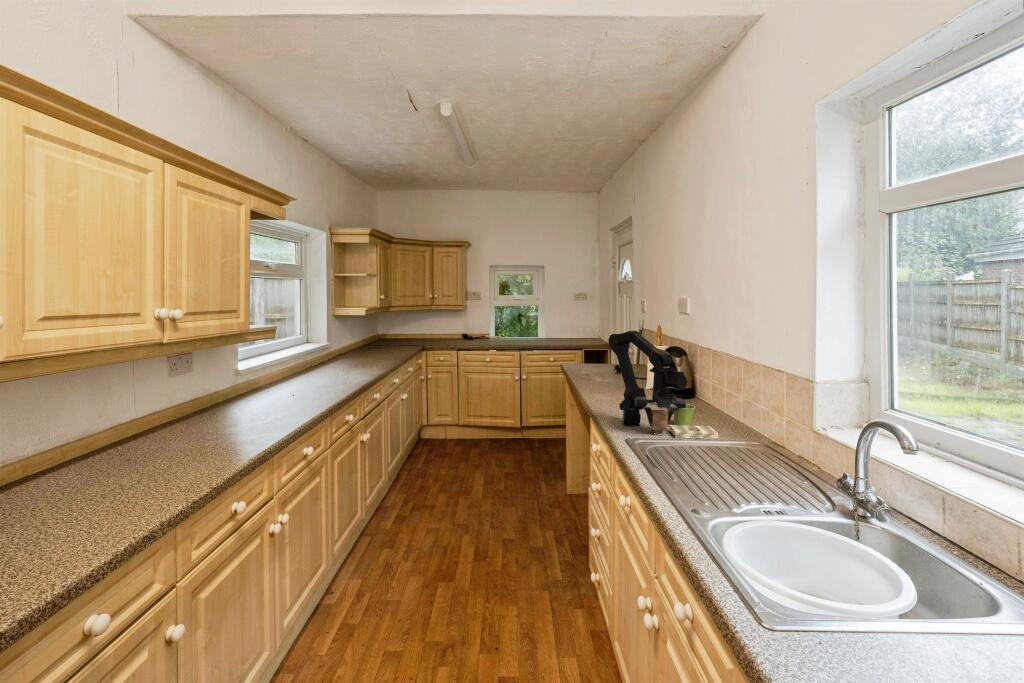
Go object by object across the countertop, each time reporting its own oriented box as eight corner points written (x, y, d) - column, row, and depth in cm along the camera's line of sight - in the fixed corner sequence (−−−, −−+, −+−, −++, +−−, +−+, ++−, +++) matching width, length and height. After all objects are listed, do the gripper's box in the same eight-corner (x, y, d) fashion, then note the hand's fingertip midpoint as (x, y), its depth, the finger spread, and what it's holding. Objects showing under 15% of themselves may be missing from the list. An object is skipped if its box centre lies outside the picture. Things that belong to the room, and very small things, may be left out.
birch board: (675, 438, 192) (675, 431, 192) (669, 430, 202) (669, 424, 201) (717, 439, 191) (718, 433, 191) (709, 432, 201) (710, 426, 201)
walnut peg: (652, 435, 195) (653, 413, 194) (649, 431, 200) (650, 409, 199) (666, 436, 194) (668, 413, 193) (663, 432, 200) (664, 410, 199)
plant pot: (665, 423, 212) (666, 403, 211) (684, 422, 215) (685, 402, 214) (679, 430, 203) (680, 409, 202) (698, 428, 206) (700, 408, 205)
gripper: (640, 388, 188) (638, 429, 189) (691, 390, 186) (688, 431, 188) (635, 382, 199) (633, 420, 200) (683, 384, 198) (680, 422, 199)
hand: (658, 423), depth 197 cm, fingers open, 6 cm apart
